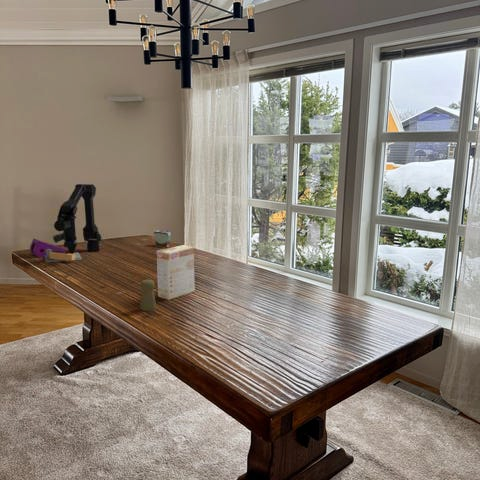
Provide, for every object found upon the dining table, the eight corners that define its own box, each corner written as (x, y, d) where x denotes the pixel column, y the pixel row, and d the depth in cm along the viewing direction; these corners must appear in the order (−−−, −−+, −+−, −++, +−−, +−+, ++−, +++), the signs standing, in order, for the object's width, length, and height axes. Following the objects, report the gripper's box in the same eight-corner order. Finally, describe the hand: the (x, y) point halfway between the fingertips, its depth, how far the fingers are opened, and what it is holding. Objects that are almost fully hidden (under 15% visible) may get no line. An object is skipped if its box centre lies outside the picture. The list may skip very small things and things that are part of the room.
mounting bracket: (58, 261, 260) (27, 252, 248) (63, 248, 261) (33, 238, 249) (63, 264, 253) (32, 255, 241) (68, 250, 254) (38, 240, 242)
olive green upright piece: (157, 305, 169) (156, 278, 167) (155, 310, 163) (154, 282, 161) (141, 305, 169) (140, 278, 167) (138, 310, 163) (137, 282, 161)
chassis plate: (78, 254, 253) (78, 251, 253) (81, 259, 240) (81, 257, 240) (44, 257, 245) (44, 254, 245) (45, 262, 233) (45, 260, 232)
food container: (175, 246, 276) (174, 231, 274) (168, 248, 271) (168, 232, 269) (160, 244, 282) (160, 229, 280) (153, 246, 277) (153, 230, 275)
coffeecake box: (183, 288, 191) (183, 244, 187) (195, 291, 187) (194, 246, 183) (157, 296, 180) (155, 250, 176) (168, 300, 175) (167, 252, 172)
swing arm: (75, 260, 234) (74, 251, 233) (72, 261, 232) (71, 252, 231) (48, 257, 239) (48, 248, 238) (45, 259, 236) (44, 249, 235)
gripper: (53, 225, 239) (55, 253, 242) (52, 231, 222) (54, 261, 225) (75, 224, 242) (77, 252, 246) (75, 230, 225) (77, 260, 229)
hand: (71, 256), depth 236 cm, fingers closed
